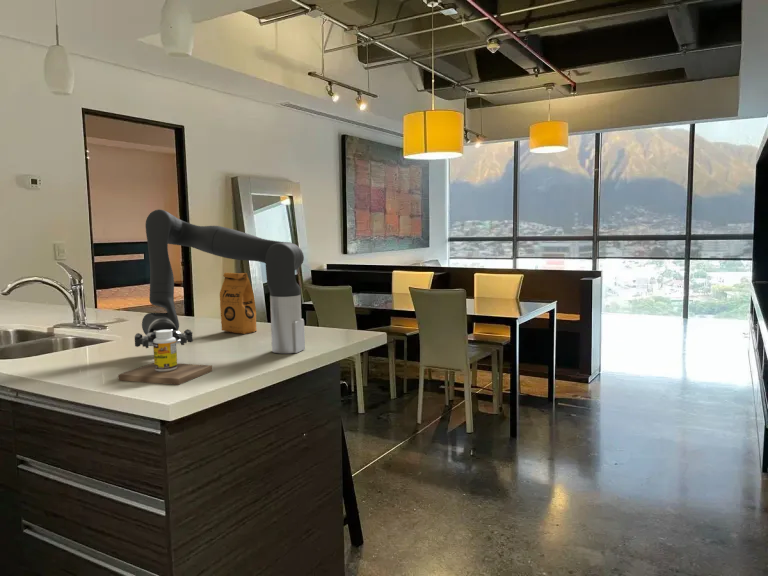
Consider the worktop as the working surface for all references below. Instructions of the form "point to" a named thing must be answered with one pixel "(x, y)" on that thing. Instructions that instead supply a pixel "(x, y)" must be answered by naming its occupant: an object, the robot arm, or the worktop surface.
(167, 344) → the supplement bottle
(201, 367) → the walnut board
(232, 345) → the worktop surface
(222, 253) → the robot arm
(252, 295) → the coffee package
